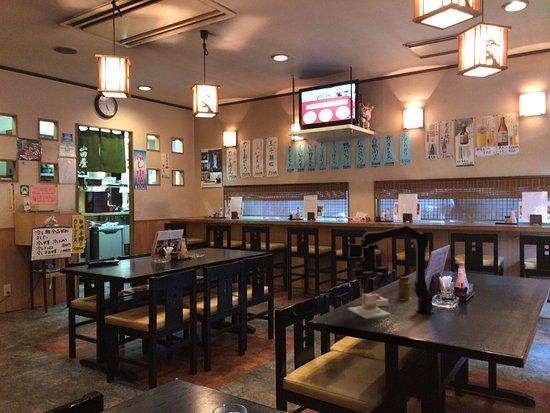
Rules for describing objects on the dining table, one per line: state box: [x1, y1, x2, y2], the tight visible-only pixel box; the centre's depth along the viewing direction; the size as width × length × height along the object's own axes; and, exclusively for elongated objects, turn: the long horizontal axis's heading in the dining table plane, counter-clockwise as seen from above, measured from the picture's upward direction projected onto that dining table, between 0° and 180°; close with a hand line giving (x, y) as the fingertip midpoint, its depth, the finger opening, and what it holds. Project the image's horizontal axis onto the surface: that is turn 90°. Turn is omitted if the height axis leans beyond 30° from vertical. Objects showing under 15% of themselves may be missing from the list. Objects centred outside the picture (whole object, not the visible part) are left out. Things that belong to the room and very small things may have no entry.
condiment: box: [392, 275, 413, 301], centre depth 246 cm, size 7×8×12 cm
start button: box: [373, 293, 381, 300], centre depth 233 cm, size 5×5×3 cm
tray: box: [347, 305, 392, 320], centre depth 216 cm, size 18×14×2 cm
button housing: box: [376, 296, 390, 308], centre depth 233 cm, size 10×10×3 cm
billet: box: [361, 292, 376, 310], centre depth 216 cm, size 5×5×8 cm
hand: (369, 288), depth 217 cm, fingers open, 9 cm apart
